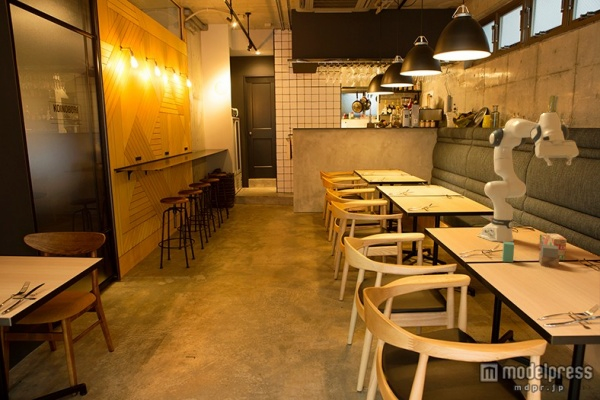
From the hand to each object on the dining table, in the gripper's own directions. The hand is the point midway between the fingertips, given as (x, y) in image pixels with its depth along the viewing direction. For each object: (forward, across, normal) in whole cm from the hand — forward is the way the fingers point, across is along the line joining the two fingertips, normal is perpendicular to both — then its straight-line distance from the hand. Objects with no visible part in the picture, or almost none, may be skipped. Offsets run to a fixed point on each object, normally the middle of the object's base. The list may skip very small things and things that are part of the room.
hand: (559, 165), depth 213 cm
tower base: (+46, 0, -29) cm, 54 cm away
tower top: (+42, 0, -26) cm, 49 cm away
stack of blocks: (+38, -12, -45) cm, 60 cm away
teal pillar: (+42, +18, -34) cm, 58 cm away
